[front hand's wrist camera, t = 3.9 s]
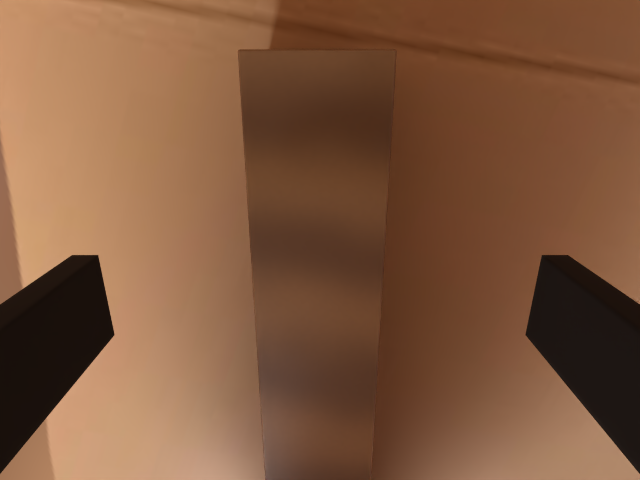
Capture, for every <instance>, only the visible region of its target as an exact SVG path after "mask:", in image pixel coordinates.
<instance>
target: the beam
mask: <svg viewBox="0 0 640 480" xmlns="http://www.w3.org/2000/svg"><path fill="white" fill-rule="evenodd" d="M396 53H397V52H396V50H238V61H239V76H240V92H241V108H242V123H243V139H244V154H245V170H246V186H247V201H248V217H249V233H250V248H251V264H252V279H253V295H254V311H255V326H256V342H257V357H258V373H259V389H260V404H261V420H262V436H263V451H264V467H265V480H371V470H372V453H373V437H374V420H375V403H376V387H377V370H378V353H379V336H380V320H381V303H382V286H383V270H384V253H385V236H386V220H387V203H388V186H389V170H390V153H391V136H392V119H393V103H394V86H395V69H396Z"/></svg>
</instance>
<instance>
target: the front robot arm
mask: <svg viewBox="0 0 640 480" xmlns="http://www.w3.org/2000/svg"><path fill="white" fill-rule="evenodd" d="M113 336H114V330H113V325H112V321H111V316H110V311H109V306H108V301H107V296H106V291H105V287H104V282H103V277H102V272H101V267H100V262H99V257H98V255H72V256H70V257H69V258H67V259H66V260H64V261H63V262H62V263H60V264H59V265H57V266H56V267H54V268H53V269H51V270H50V271H48V272H47V273H46V274H44V275H43V276H41V277H40V278H38V279H37V280H35V281H34V282H32V283H31V284H29V285H28V286H27V287H25V288H24V289H22V290H21V291H19V292H18V293H16V294H15V295H13V296H12V297H11V298H9V299H8V300H6V301H5V302H3V303H2V304H0V473H1V472H2V471H3V470H4V468H5V467H6V466H7V465H8V464H9V462H10V461H11V460H12V459H13V458H14V456H15V455H16V454H17V453H18V451H19V450H20V449H21V448H22V447H23V445H24V444H25V443H26V442H27V441H28V439H29V438H30V437H31V436H32V435H33V433H34V432H35V431H36V430H37V428H38V427H39V426H40V425H41V424H42V422H43V421H44V420H45V419H46V418H47V416H48V415H49V414H50V413H51V411H52V410H53V409H54V408H55V407H56V405H57V404H58V403H59V402H60V400H61V399H62V398H63V397H64V396H65V394H66V393H67V392H68V391H69V390H70V388H71V387H72V386H73V385H74V383H75V382H76V381H77V380H78V379H79V377H80V376H81V375H82V374H83V373H84V371H85V370H86V369H87V368H88V366H89V365H90V364H91V363H92V362H93V360H94V359H95V358H96V357H97V356H98V354H99V353H100V352H101V351H102V349H103V348H104V347H105V346H106V345H107V343H108V342H109V341H110V340H111V339H112V337H113ZM526 336H527V337H528V339H529V340H530V341H531V342H532V343H533V345H534V346H535V347H536V348H537V349H538V351H539V352H540V353H541V354H542V356H543V357H544V358H545V359H546V360H547V362H548V363H549V364H550V365H551V366H552V368H553V369H554V370H555V371H556V373H557V374H558V375H559V376H560V377H561V379H562V380H563V381H564V382H565V383H566V385H567V386H568V387H569V388H570V390H571V391H572V392H573V393H574V394H575V396H576V397H577V398H578V399H579V401H580V402H581V403H582V404H583V405H584V407H585V408H586V409H587V410H588V411H589V413H590V414H591V415H592V416H593V418H594V419H595V420H596V421H597V422H598V424H599V425H600V426H601V427H602V428H603V430H604V431H605V432H606V433H607V435H608V436H609V437H610V438H611V439H612V441H613V442H614V443H615V444H616V445H617V447H618V448H619V449H620V450H621V452H622V453H623V454H624V455H625V456H626V458H627V459H628V460H629V461H630V462H631V464H632V465H633V466H634V467H635V469H636V470H637V471H638V472H639V473H640V304H638V303H637V302H635V301H634V300H632V299H631V298H629V297H628V296H627V295H625V294H624V293H622V292H621V291H619V290H618V289H616V288H615V287H613V286H612V285H611V284H609V283H608V282H606V281H605V280H603V279H602V278H600V277H599V276H597V275H596V274H594V273H593V272H592V271H590V270H589V269H587V268H586V267H584V266H583V265H581V264H580V263H578V262H577V261H576V260H574V259H573V258H571V257H570V256H568V255H542V257H541V262H540V267H539V272H538V277H537V282H536V287H535V291H534V296H533V301H532V306H531V311H530V316H529V320H528V325H527V330H526Z"/></svg>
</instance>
